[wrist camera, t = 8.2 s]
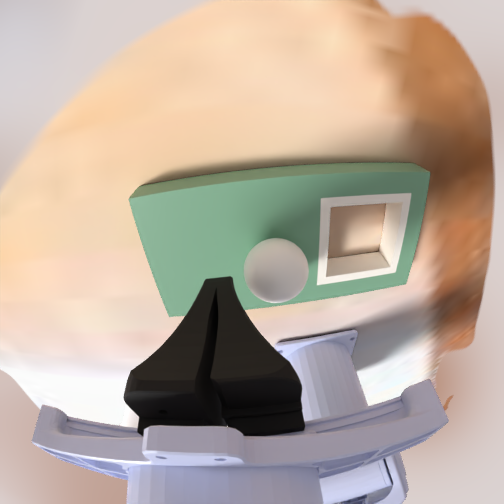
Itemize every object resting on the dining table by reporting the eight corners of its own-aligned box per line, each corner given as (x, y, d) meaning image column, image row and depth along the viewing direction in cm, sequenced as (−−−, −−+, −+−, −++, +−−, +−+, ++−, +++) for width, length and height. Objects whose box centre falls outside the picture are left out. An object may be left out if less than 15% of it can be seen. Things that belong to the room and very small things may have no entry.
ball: (270, 267, 18) (318, 287, 16) (234, 299, 16) (284, 326, 14) (267, 220, 16) (322, 237, 14) (226, 249, 14) (284, 274, 12)
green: (395, 269, 21) (405, 284, 19) (172, 298, 20) (169, 316, 19) (413, 163, 16) (430, 172, 14) (139, 186, 15) (128, 198, 14)
